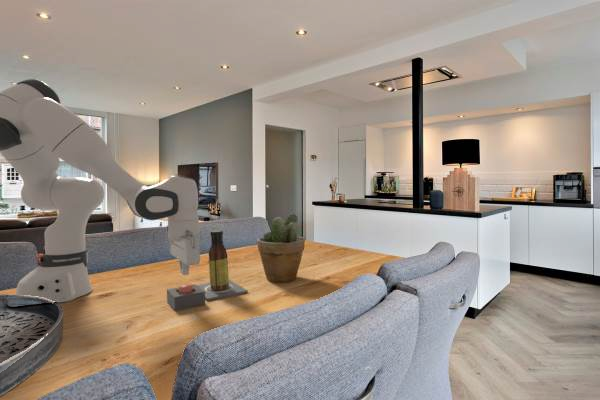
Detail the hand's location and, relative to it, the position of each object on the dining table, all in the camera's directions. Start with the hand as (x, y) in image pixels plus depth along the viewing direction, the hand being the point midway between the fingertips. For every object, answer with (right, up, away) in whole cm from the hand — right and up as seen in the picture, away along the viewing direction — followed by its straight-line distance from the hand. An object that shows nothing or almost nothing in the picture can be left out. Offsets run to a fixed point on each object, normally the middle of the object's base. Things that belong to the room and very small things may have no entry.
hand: (184, 274), depth 103 cm
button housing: (0, -9, +1) cm, 9 cm away
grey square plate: (+7, -9, +13) cm, 17 cm away
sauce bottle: (+8, -8, +13) cm, 17 cm away
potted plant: (+28, -8, +27) cm, 40 cm away
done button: (0, -7, +1) cm, 7 cm away
